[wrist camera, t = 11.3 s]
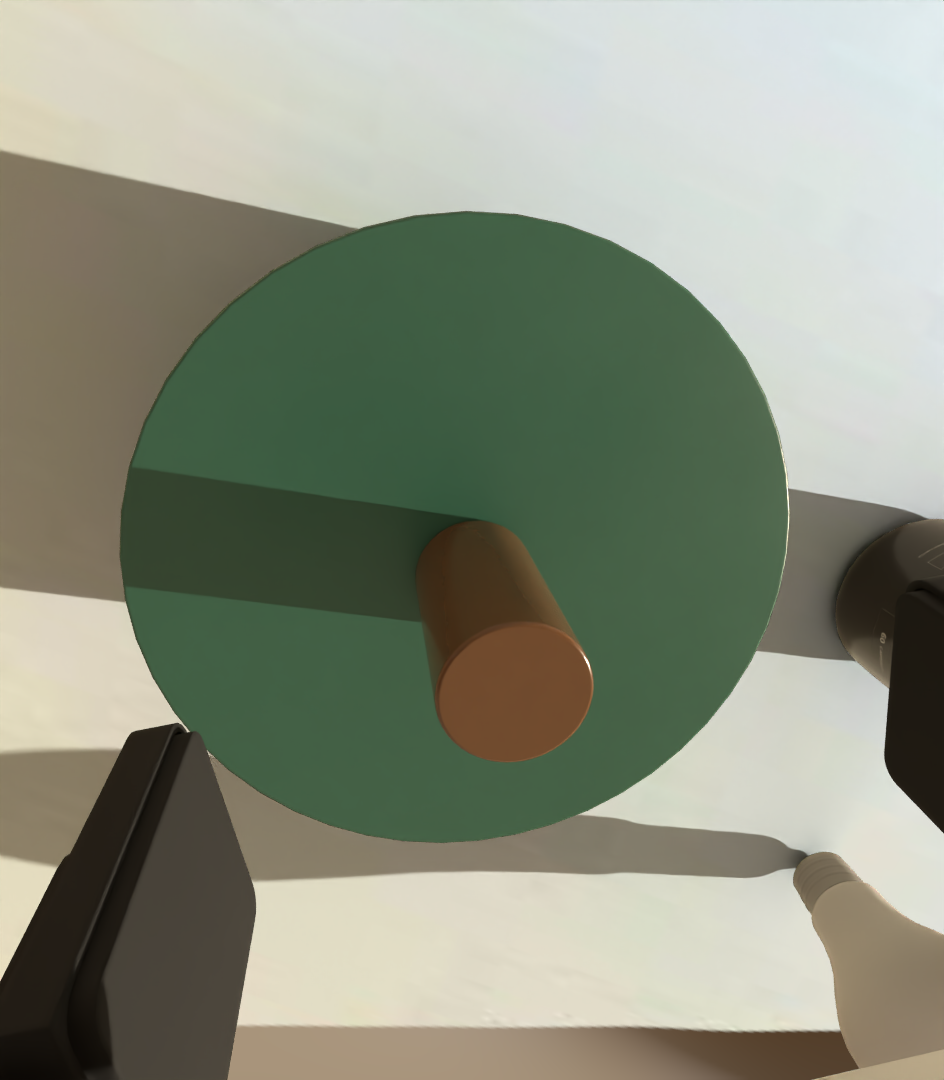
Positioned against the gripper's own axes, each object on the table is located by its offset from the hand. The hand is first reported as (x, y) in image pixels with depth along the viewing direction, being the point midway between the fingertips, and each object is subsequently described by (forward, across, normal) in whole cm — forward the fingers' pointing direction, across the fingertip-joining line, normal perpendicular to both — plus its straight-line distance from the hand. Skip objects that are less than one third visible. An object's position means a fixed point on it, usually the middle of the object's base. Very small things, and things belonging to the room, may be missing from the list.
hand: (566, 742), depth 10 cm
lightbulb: (+17, -13, +23) cm, 31 cm away
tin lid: (+8, 0, +1) cm, 8 cm away
